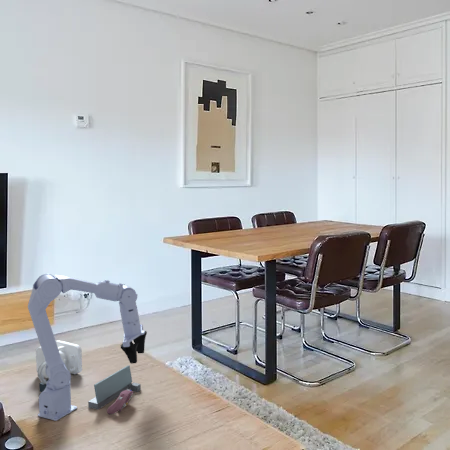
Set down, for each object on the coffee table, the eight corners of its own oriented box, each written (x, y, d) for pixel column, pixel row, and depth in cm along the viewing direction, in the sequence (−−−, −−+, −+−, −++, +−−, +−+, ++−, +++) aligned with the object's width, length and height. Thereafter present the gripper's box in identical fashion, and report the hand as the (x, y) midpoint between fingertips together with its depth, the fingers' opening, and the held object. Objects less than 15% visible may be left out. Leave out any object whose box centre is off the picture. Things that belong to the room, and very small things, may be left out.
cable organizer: (34, 375, 185) (33, 346, 184) (57, 366, 194) (56, 338, 193) (61, 384, 178) (60, 353, 176) (84, 374, 187) (83, 344, 185)
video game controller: (117, 420, 154) (126, 402, 152) (104, 413, 154) (113, 394, 153) (129, 406, 163) (137, 389, 162) (117, 399, 164) (126, 382, 163)
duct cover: (95, 384, 157) (93, 384, 157) (98, 403, 157) (97, 403, 158) (129, 365, 173) (127, 365, 174) (132, 381, 173) (130, 381, 174)
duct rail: (107, 412, 156) (107, 405, 156) (88, 407, 159) (88, 400, 159) (140, 390, 172) (140, 383, 172) (122, 386, 175) (122, 380, 175)
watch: (64, 389, 173) (63, 359, 172) (44, 397, 167) (43, 366, 166) (54, 385, 176) (53, 355, 175) (34, 393, 170) (33, 362, 169)
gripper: (134, 327, 158) (141, 367, 160) (148, 311, 172) (154, 347, 174) (114, 329, 159) (121, 368, 161) (129, 313, 173) (136, 349, 175)
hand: (137, 357), depth 168 cm, fingers open, 7 cm apart
